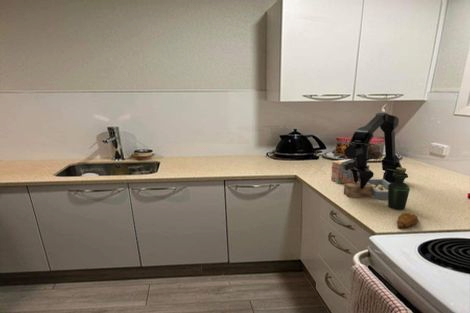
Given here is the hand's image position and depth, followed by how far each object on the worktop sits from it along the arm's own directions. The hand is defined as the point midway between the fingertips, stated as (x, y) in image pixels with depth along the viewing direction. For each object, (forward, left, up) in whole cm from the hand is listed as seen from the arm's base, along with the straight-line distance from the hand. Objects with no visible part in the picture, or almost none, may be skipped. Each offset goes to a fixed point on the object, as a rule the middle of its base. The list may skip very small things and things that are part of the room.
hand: (358, 185), depth 129 cm
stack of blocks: (-3, -24, -5) cm, 25 cm away
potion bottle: (-12, +14, -5) cm, 19 cm away
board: (0, 0, -5) cm, 5 cm away
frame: (-13, -6, -5) cm, 15 cm away
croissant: (-9, +30, -6) cm, 32 cm away
